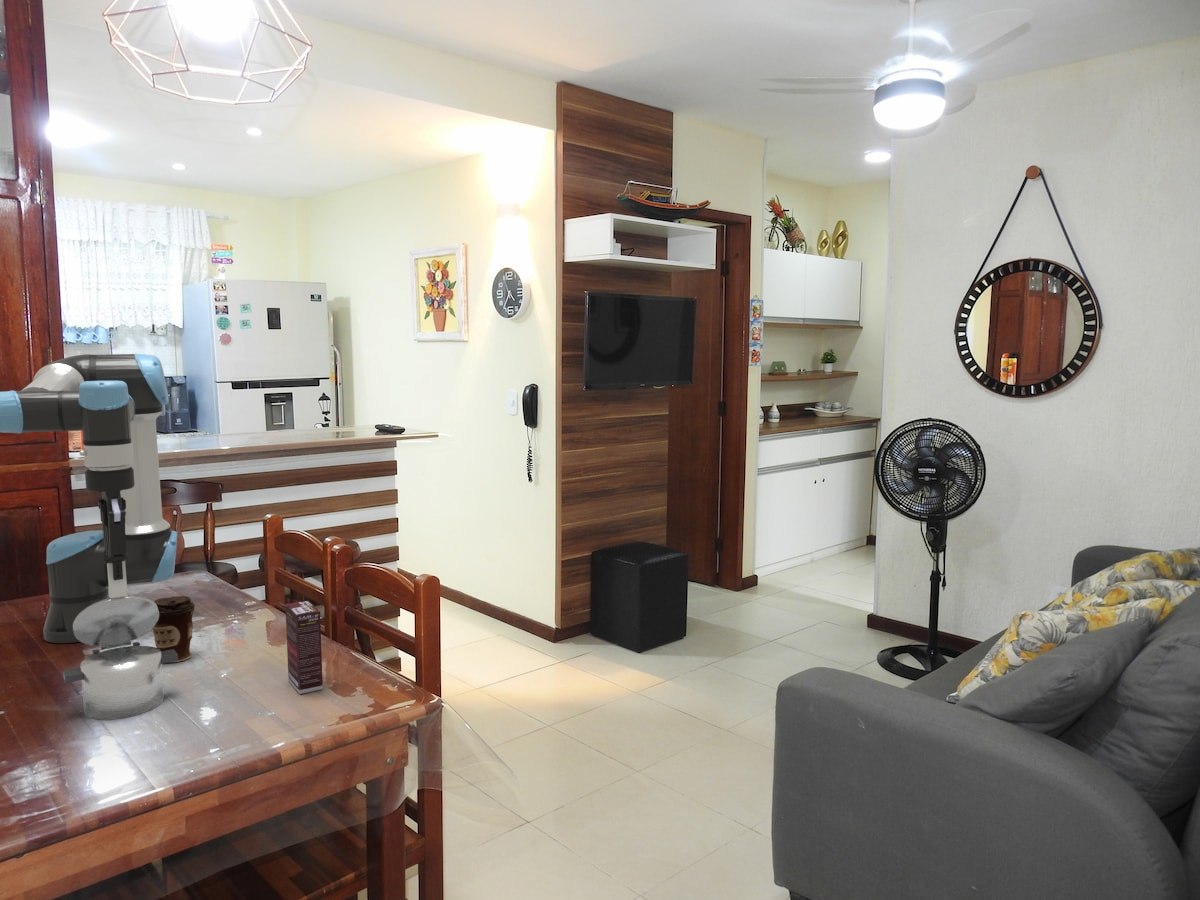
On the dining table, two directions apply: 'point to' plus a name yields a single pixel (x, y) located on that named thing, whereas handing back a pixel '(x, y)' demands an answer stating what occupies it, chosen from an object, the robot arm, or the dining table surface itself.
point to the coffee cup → (174, 625)
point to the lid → (115, 621)
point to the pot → (121, 681)
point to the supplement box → (304, 647)
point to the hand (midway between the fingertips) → (118, 595)
